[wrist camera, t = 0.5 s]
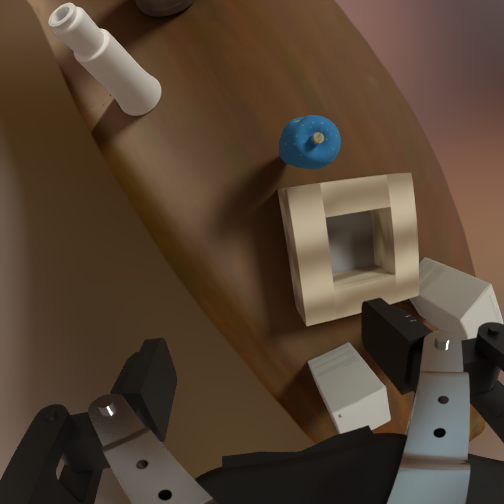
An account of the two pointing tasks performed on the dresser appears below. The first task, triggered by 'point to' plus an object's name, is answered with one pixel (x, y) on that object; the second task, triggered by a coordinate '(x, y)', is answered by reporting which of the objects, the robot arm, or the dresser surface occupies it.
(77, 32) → the cosmetic bottle
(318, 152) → the ornament
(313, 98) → the dresser surface
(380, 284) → the socket block
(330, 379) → the supplement box
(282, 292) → the dresser surface
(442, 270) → the skincare box
